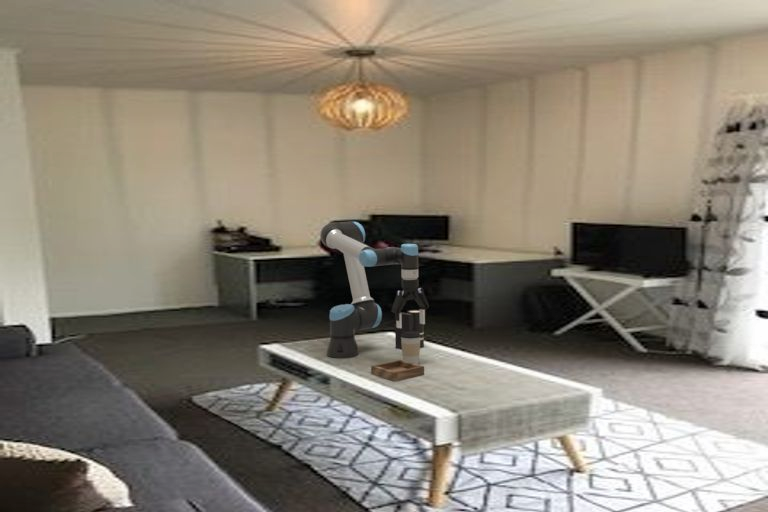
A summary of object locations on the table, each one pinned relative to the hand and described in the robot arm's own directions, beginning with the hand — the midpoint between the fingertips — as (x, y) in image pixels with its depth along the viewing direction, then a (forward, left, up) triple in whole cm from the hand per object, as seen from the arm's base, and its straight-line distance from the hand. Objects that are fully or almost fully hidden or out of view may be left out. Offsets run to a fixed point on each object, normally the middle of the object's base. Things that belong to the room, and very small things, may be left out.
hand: (410, 325), depth 311 cm
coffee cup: (0, 0, -18) cm, 18 cm away
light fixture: (-25, +21, -18) cm, 37 cm away
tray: (+10, -16, -17) cm, 25 cm away
